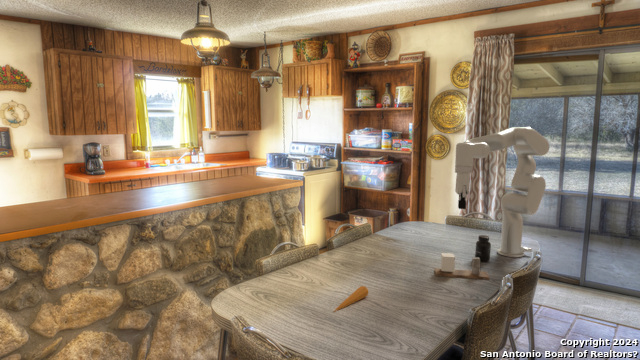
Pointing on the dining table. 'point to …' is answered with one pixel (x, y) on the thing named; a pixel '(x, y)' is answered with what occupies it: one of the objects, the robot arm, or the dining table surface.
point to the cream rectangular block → (447, 262)
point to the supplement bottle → (483, 248)
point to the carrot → (354, 297)
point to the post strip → (465, 271)
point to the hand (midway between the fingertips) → (461, 208)
